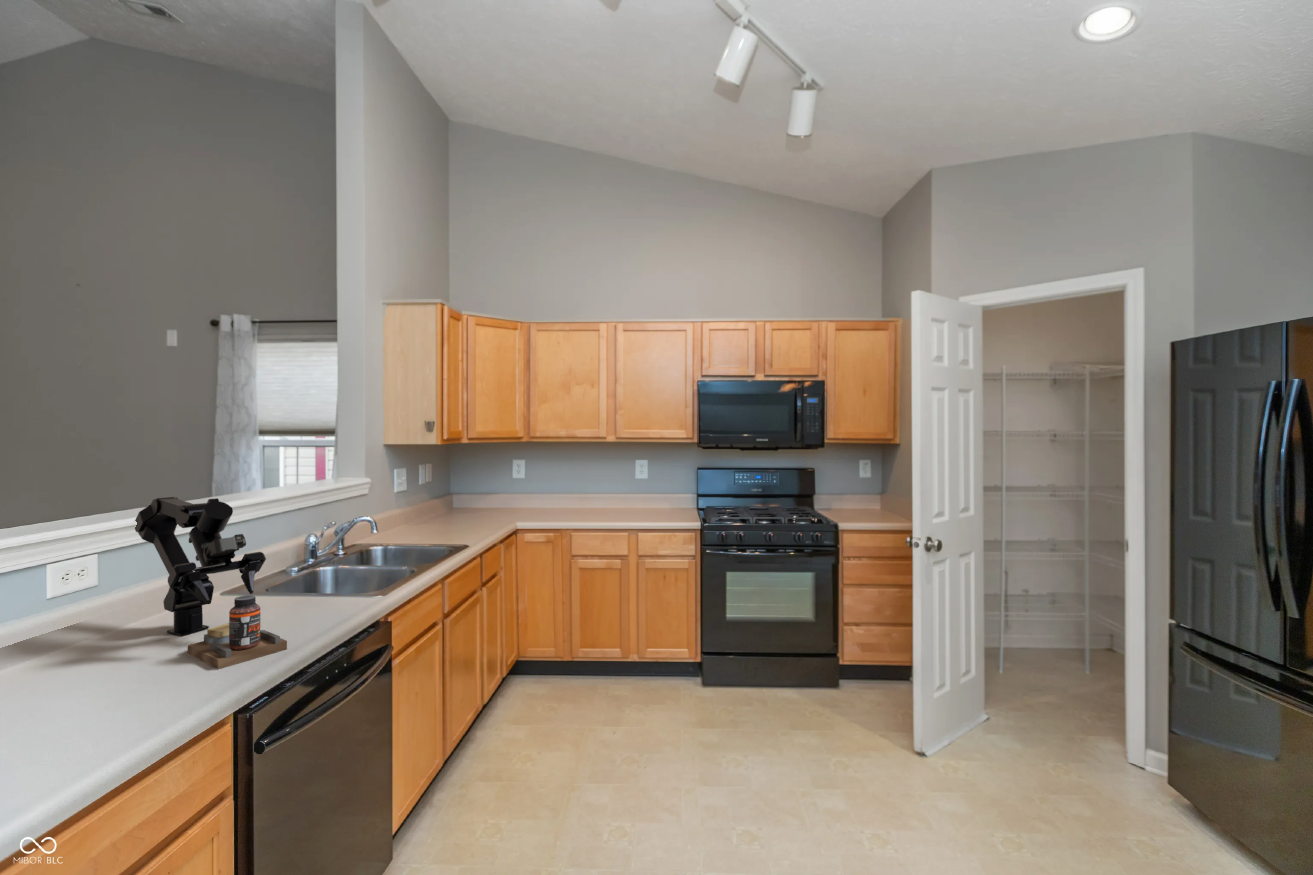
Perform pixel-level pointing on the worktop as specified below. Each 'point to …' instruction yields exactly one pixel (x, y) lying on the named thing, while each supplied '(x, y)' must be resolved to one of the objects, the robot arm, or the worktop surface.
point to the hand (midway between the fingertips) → (230, 597)
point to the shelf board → (222, 656)
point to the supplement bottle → (244, 623)
